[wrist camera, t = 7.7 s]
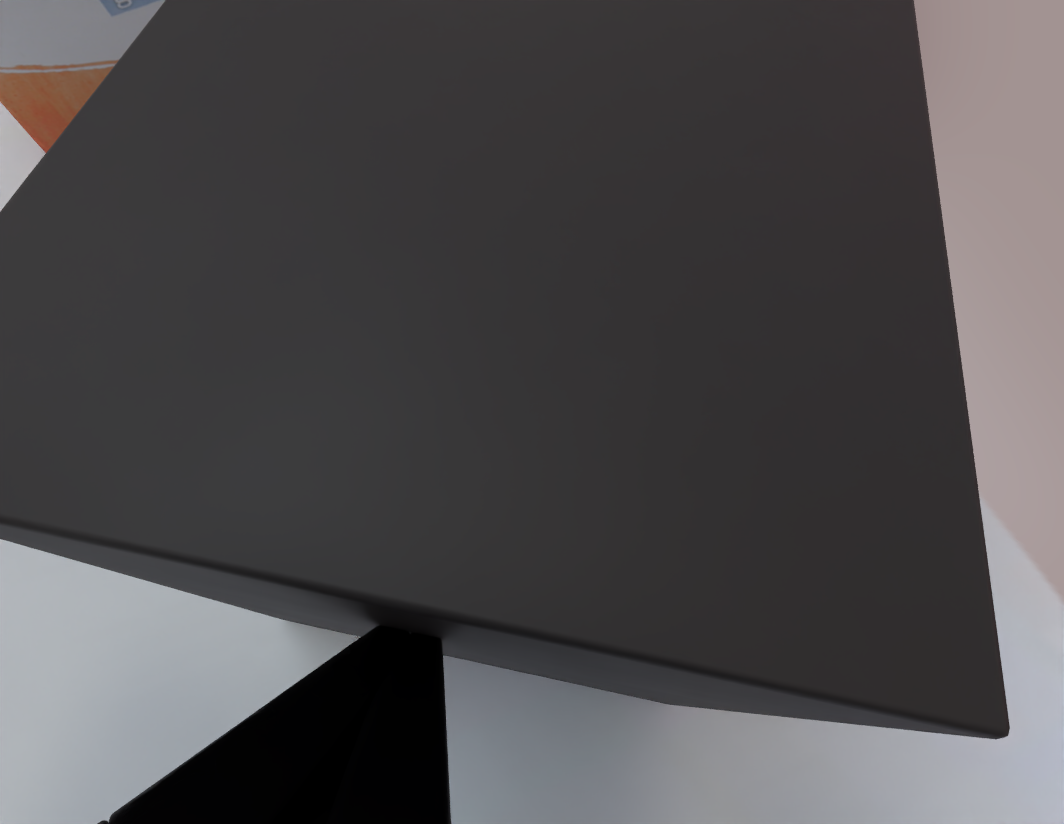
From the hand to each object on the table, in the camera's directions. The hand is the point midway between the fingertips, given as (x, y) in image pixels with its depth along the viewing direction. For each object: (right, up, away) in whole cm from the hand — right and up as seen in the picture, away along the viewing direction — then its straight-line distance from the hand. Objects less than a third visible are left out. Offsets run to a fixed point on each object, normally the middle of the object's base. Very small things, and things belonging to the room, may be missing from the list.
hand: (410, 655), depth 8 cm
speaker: (+2, +4, +10) cm, 11 cm away
